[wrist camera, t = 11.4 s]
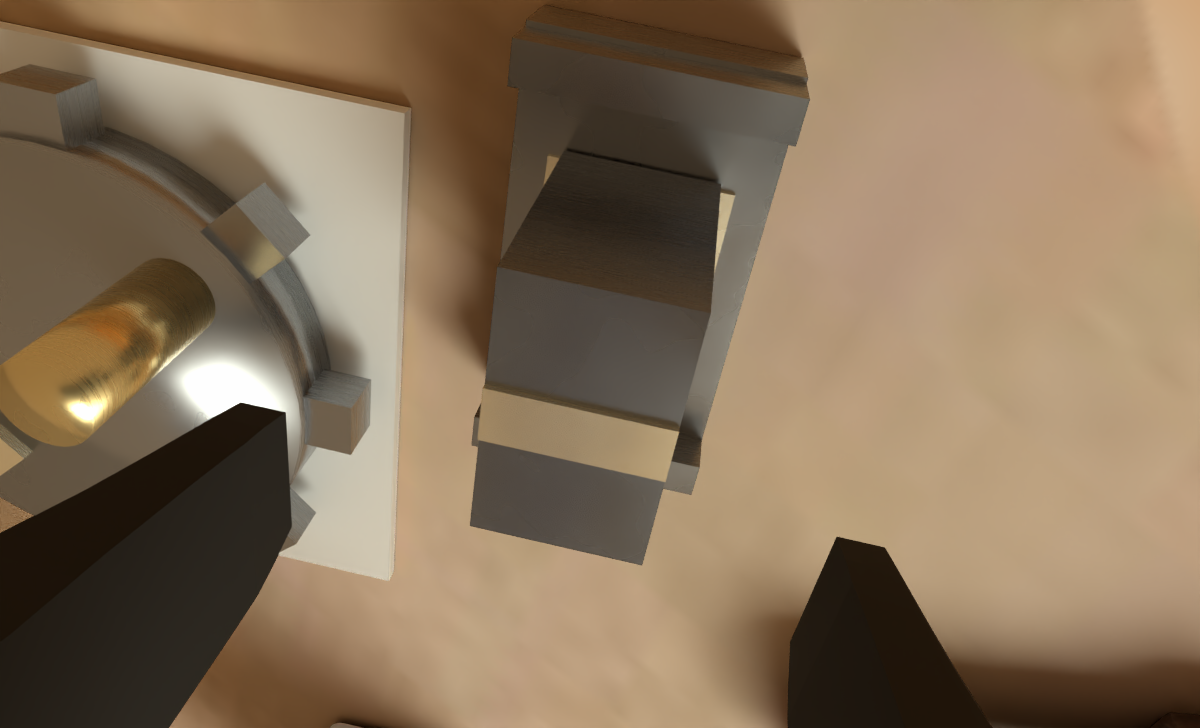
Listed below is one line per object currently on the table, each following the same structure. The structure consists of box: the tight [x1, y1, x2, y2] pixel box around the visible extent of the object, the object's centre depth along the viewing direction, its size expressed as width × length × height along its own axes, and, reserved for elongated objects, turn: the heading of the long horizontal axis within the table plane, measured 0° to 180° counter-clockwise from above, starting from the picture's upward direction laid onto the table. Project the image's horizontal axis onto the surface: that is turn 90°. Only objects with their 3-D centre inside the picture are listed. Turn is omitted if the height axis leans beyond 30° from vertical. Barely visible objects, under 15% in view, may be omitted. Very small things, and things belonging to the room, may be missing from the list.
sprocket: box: [0, 64, 371, 552], centre depth 19 cm, size 13×13×6 cm
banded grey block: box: [470, 151, 721, 565], centre depth 15 cm, size 5×3×5 cm, turn 171°
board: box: [0, 21, 411, 581], centre depth 21 cm, size 14×14×1 cm
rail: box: [472, 5, 810, 495], centre depth 17 cm, size 9×5×2 cm, turn 171°
